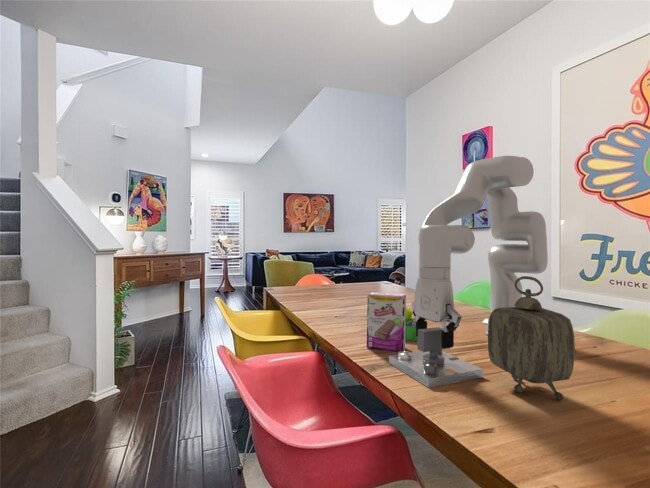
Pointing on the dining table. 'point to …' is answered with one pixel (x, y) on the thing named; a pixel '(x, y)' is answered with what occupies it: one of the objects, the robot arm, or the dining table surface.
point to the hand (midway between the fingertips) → (433, 341)
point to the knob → (431, 344)
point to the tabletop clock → (531, 341)
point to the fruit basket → (410, 326)
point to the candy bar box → (386, 321)
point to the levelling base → (441, 369)
